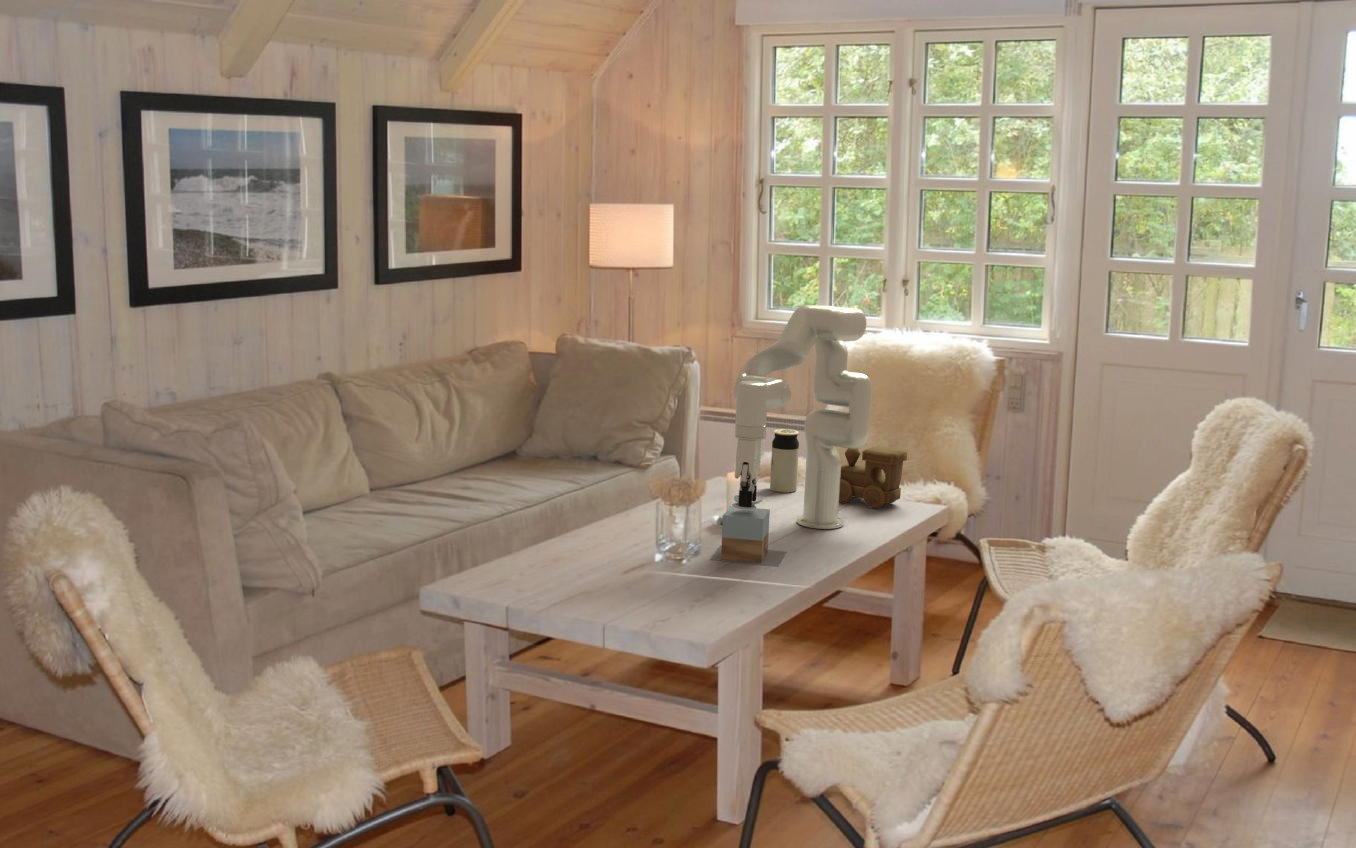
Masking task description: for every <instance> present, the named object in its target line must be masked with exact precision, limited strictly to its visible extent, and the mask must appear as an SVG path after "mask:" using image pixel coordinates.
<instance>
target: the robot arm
mask: <svg viewBox="0 0 1356 848" xmlns="http://www.w3.org/2000/svg"><path fill="white" fill-rule="evenodd" d="M866 329H867V317H866V315H865V313H864V311H862V310H861V309H859V308H856V307H845V306H844V307H843V306H834V305H823V304H814V305H813V304H812V305H811V304H806V305H805V304H804V305H801V306H799V307H797V308H796V309H795V310H794V311H793V313H792V314H791V317H790V318H789V320H788V321H787V323H786V325H785V327H784V329H783V330H782V332H781V333H780V335H779V337H778V338H777V341H776V342H775V343H773V344H771V345H769V346H767V347H765V348H764V349H762V350H760V351H759V352H757V353H756V354H754V355H753V356H751V357H750V358H748V360H747V361H746V362H745V363H744V365H743V366H742V368H741V371H740V372H739V373H738V375H737V377H736V380H735V382H734V385H733V395H734V399H735V401H736V402H735V421H734V422H735V423H734V425H735V426H734V427H735V428H734V438H735V439H737V444H736V451H735V452H736V453H735V454H736V455H735V466H734V478H735V479H739V478H740V480H739V489H738V495H739V506H740V507H751V506H752V502H755V501H757V489H758V488H757V486H758V485H757V481H758V480H757V476H758V475H759V473H760V469H761V458H762V457H761V456H762V441H763V440H765V439H766V437H767V436H766V435H767V419H768V418H767V417H768V416H767V415H768V409H770V410H774V409H775V410H777V409H781V408H784V407H785V406H787V405H788V403H789V402H790V400H791V397H792V388H791V386H790V384H789V383H788V382H787V381H786V380H784V379H781V378H777V377H770V376H767V375H769V374H771V373H774V372H778V371H781V370H786V369H787V370H788V369H791V368H793V367H797V366H799V365H801V364H803V363H804V361H805V360H806V359H807V357H808V355H809V354H810V351H811V349H812V348H813V346H814V348H815V364H814V365H815V367H814V377H813V378H814V379H813V398H814V400H815V401H816V402H818V403H820V404H823V405H829V406H837V407H842V408H848V410H849V412H847V411H841V410H836V409H835V410H834V409H825V408H818V409H814V410H812V411H810V412H809V413H807V415H806V417H805V419H804V423H803V424H804V427H803V428H804V437H805V447H806V451H805V452H806V454H805V455H806V456H805V459H806V460H805V479H804V498H803V515H799V516H798V517H797V518H796V519H797V520H796V523H798V524H799V525H800V526H802V527H806V528H808V529H810V528H811V529H819V530H820V529H821V530H833V529H839V528H841V527H843V526H844V523H845V522H844V519H842V518H841V517H839V510H840V509H839V508H840V505H839V504H840V502H839V493H840V476H841V467H842V459H841V456H840V454H839V451H838V449H837V448H836V447H838V448H843V449H848V448H850V449H858V450H859V449H862V448H863V447H864V446H865V445H866V443H867V441H868V438H869V433H870V424H871V414H872V402H873V385H872V381H871V379H870V377H869V376H867V375H866V374H864V373H861V372H854V371H848V358H849V351H848V347H847V345H846V342H855V341H858V340H860V339H861V338H862V337H863V336H864V334H865V332H866ZM748 482H749V483H748ZM752 483H753V485H754V488H755V489H754V492H753V494H752V491H751V487H752Z"/></svg>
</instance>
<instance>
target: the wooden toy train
mask: <svg viewBox="0 0 1356 848" xmlns="http://www.w3.org/2000/svg"><path fill="white" fill-rule="evenodd" d="M844 455H845V456H844V457H845V458H846V462H847V464H844V465H841V476H840V493H839V504H840V503H841V504H847V503H849V501H851V499H852V498H854V499H855V498H856V499H858V498H859V499H862V500H863V503H864V504H865V505H866V506H867V507H868V508H870V509H874V510H878V509H879V508H881V507H883V506H884V504H893V503H895V502H896V501H898V500H900V499H901V493H902V492H901V490H902V488H901V487H900V486H901V485H900V484H901V479H902V475H903V464H904V462H905V461H907V460H908V459H907V458H908V451H907V450H903V449H900V448H892V447H885V446H872V447H869V448H867V449H864V450H863V451H862V456H861V452H860V451H859V449H850V448H846V450H845V452H844ZM860 457H861V458H862V459H861V460H862V461H863V462H864V461H865V464H864V465H856V464H857V461H858V460H859V458H860ZM882 472H883V473H882ZM883 474H884V476H883ZM884 477H885V478H884Z"/></svg>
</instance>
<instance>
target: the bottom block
mask: <svg viewBox="0 0 1356 848" xmlns="http://www.w3.org/2000/svg"><path fill="white" fill-rule="evenodd" d="M769 531H770V530H769ZM769 531H768V533H767V534H766V536H765V537H764V539H763V541H758V540H748V539H737V538H726V537H722V536H721V546H722V548H721V559H728V560H739V561H749V562H759V563H761V562H762V561H763V559H764V557H765V556H766V554H767V552H768V550H769V537H770V536H769V535H770V533H769Z"/></svg>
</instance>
